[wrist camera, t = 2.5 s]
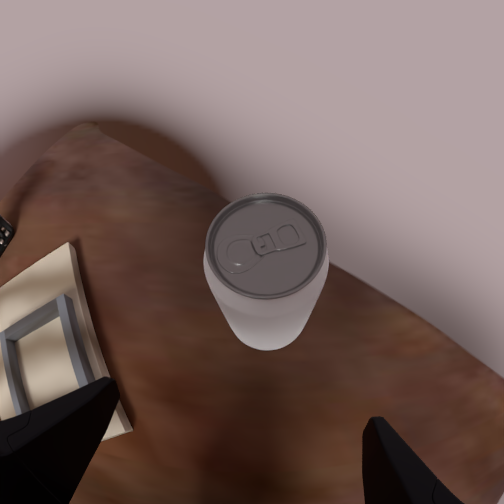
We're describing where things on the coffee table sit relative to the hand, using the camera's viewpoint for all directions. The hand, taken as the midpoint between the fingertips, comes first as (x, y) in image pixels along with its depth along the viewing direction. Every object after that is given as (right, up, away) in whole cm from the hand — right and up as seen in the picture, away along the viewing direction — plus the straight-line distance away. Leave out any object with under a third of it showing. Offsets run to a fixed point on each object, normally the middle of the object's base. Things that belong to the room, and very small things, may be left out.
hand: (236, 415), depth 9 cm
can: (+2, 0, +16) cm, 16 cm away
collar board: (-21, -5, +14) cm, 26 cm away
